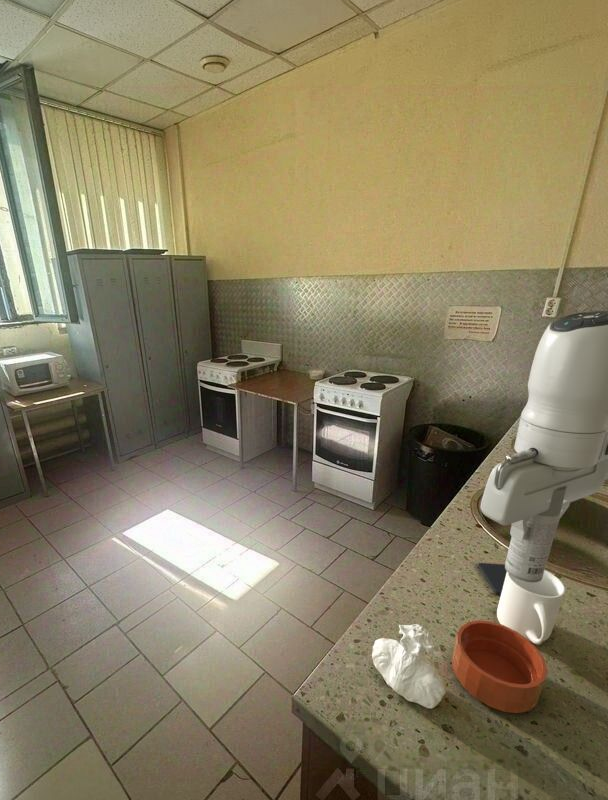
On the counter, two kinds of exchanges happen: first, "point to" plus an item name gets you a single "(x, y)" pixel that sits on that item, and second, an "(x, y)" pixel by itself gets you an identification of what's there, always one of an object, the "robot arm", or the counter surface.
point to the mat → (494, 575)
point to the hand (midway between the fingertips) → (533, 531)
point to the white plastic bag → (410, 666)
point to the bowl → (498, 666)
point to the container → (535, 543)
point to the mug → (531, 606)
